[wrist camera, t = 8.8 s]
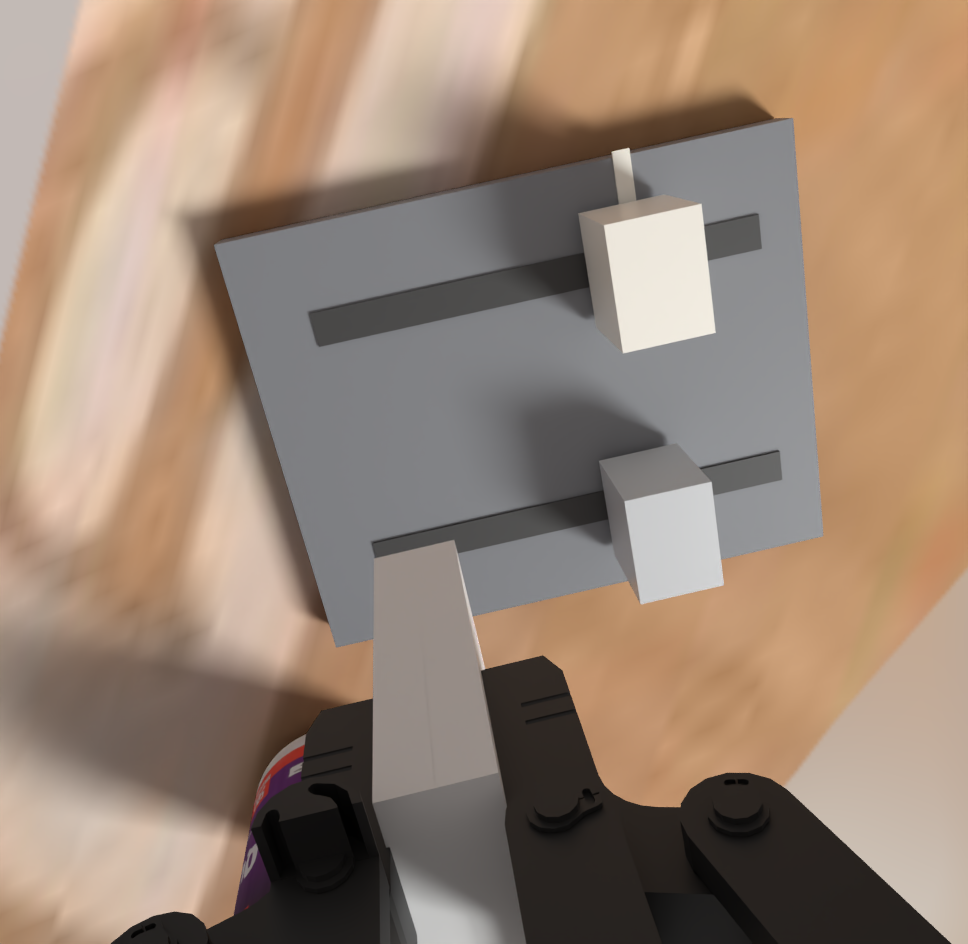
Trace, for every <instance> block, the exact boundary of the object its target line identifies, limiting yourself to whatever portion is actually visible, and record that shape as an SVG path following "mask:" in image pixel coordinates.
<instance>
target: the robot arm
mask: <svg viewBox="0 0 968 944" xmlns="http://www.w3.org/2000/svg"><path fill="white" fill-rule="evenodd" d="M303 760H304V762H303V763H302V771H301V781H300V782H298V783H295V784H292V785H290V786H288V787H287V788H285V789H283V790H282V791H280V792H279V793H277V794H276V795H274V796H273V797H271V798H270V799H269V800H268V802H267V803H266V804H265V805H264V806H263V807H262V808H261V809H260V810H259V811H258V813H257V815H256V817H255V819H254V822H253V824H252V826H251V831H252V834H253V837H254V839H255V842H256V845H257V847H258V850H259V852H260V855H261V858H262V860H263V863H264V866H265V868H266V871H267V874H268V876H269V879H270V882H271V885H270V891H269V892H268V893H267V894H266V895H265V896H264V897H262V898H261V899H260V900H259V901H258V902H256V903H255V904H253V905H252V906H250V907H248V908H247V909H245V910H243V911H242V912H240V913H238V914H236V915H234V916H232V917H230V918H228V919H226V920H224V921H223V922H221V923H219V924H217V925H215V926H213V927H211V928H209V929H206V927H205V925H204V923H203V922H201V921H200V920H199V919H198V918H196V917H195V916H194V915H193V914H188V913H181V912H170V913H166V914H161V915H156V916H152V917H150V918H148V919H146V920H144V921H142V922H140V923H138V924H136V925H134V926H132V927H131V928H129V929H128V930H127V931H126V932H124V933H123V934H122V935H121V936H120V937H118V938H117V939H116V940H115V941H113V942H112V943H111V944H951V943H950V942H949V941H948V940H947V939H946V938H945V937H944V936H943V935H941V934H940V933H939V932H938V931H937V930H936V929H935V928H934V927H933V926H932V925H931V924H930V923H929V922H928V921H927V920H925V919H924V918H923V917H922V916H921V915H920V914H919V913H918V912H917V911H916V910H915V909H914V908H913V907H912V906H911V905H910V904H909V903H907V902H906V901H905V900H904V899H903V898H902V897H901V896H900V895H899V894H898V893H897V892H896V891H895V890H894V889H893V888H891V887H890V886H889V885H888V884H887V883H886V882H885V881H884V880H883V879H882V878H881V877H880V876H879V875H878V874H876V872H874V871H873V870H872V869H871V868H870V867H869V866H868V865H867V864H866V863H865V862H864V861H863V860H862V859H861V858H860V857H858V856H857V855H856V854H855V853H854V852H853V851H852V850H851V849H850V848H849V847H848V846H847V845H846V844H845V843H843V842H842V841H841V840H840V839H839V838H838V837H837V836H836V835H835V834H834V833H833V832H832V831H831V830H830V829H829V828H828V827H826V826H825V825H824V824H823V823H822V822H821V821H820V820H819V819H818V818H817V817H816V816H815V815H814V814H813V813H812V812H810V811H809V810H808V809H807V808H806V807H805V806H804V805H803V804H802V803H801V802H800V801H799V800H798V799H796V798H795V797H794V796H793V795H792V794H791V793H790V792H789V791H788V790H787V789H785V788H784V787H782V786H781V785H779V784H778V783H776V782H774V781H773V780H771V779H769V778H766V777H762V776H758V775H755V774H751V773H725V774H721V775H718V776H714V777H710V778H707V779H705V780H703V781H702V782H700V783H699V784H697V785H696V786H694V787H693V788H691V789H690V791H689V792H688V794H687V795H686V797H685V798H684V800H683V801H682V803H681V807H651V806H641V805H638V804H634V803H631V802H628V801H625V800H623V799H621V798H620V797H618V796H616V795H614V794H613V793H612V792H611V791H610V790H609V789H607V788H606V787H605V786H604V784H603V783H602V781H601V779H600V777H599V775H598V773H597V770H596V767H595V764H594V761H593V758H592V755H591V752H590V749H589V746H588V744H587V741H586V738H585V735H584V732H583V729H582V726H581V723H580V720H579V717H578V715H577V713H576V709H575V706H574V703H573V700H572V697H571V695H570V691H569V688H568V685H567V683H566V680H565V677H564V674H563V671H562V670H561V669H560V668H558V667H557V666H556V665H555V664H553V663H552V662H551V661H549V660H548V659H547V658H546V657H544V656H539V657H535V658H531V659H526V660H522V661H518V662H514V663H510V664H506V665H501V666H497V667H493V668H489V669H485V666H484V662H483V658H482V654H481V650H480V645H479V641H478V637H477V633H476V629H475V625H474V620H473V616H472V612H471V608H470V604H469V600H468V595H467V591H466V587H465V583H464V579H463V575H462V570H461V566H460V562H459V558H458V554H457V550H456V545H455V541H454V540H451V541H447V542H443V543H438V544H434V545H430V546H426V547H421V548H417V549H413V550H409V551H404V552H400V553H396V554H391V555H387V556H383V557H379V558H374V638H373V699H369V700H365V701H361V702H356V703H352V704H348V705H344V706H340V707H336V708H331V709H327V710H323V711H321V712H320V714H319V715H318V717H317V718H316V720H315V721H314V723H313V724H312V726H311V727H310V729H309V730H308V732H307V733H306V737H305V746H304V754H303Z"/></svg>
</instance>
